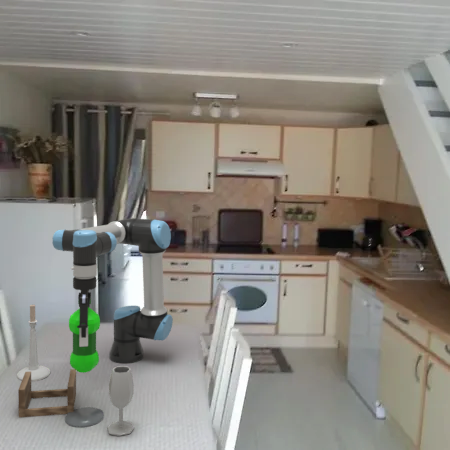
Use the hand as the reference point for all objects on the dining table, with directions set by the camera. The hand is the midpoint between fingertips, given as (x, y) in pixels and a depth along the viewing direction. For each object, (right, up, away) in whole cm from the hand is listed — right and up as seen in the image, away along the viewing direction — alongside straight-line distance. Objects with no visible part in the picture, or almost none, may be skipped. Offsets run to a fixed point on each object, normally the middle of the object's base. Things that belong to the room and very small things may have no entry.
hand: (84, 340), depth 169 cm
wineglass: (+13, -29, -4) cm, 32 cm away
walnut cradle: (-16, -26, +11) cm, 33 cm away
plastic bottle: (0, -11, +1) cm, 11 cm away
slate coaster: (-1, -28, +3) cm, 28 cm away
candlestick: (-31, -23, +36) cm, 53 cm away
